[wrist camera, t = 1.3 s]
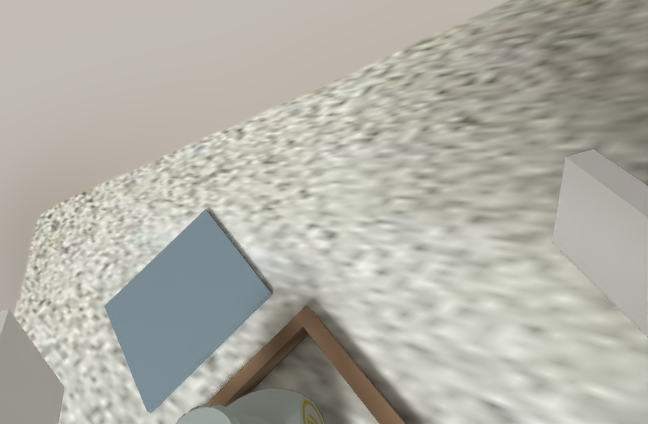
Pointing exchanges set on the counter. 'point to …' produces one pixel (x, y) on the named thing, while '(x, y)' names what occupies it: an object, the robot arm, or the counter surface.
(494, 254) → the counter surface
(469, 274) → the counter surface
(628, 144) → the counter surface
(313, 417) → the air freshener
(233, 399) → the wooden frame
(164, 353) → the rubber mat
